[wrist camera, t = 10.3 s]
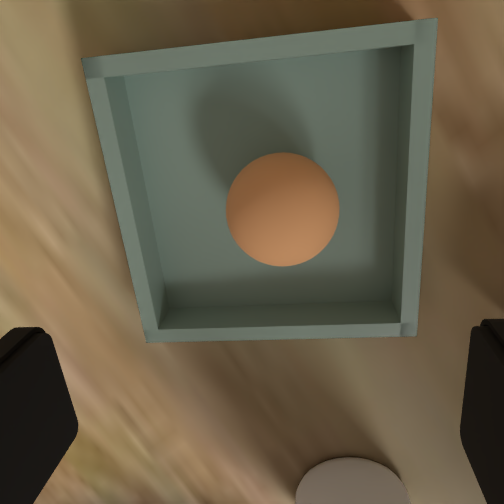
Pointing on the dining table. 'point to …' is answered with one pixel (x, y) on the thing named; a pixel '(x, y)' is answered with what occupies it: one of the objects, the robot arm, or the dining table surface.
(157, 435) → the dining table surface
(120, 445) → the dining table surface
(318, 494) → the milk bottle
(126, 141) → the tray
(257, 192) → the ball
